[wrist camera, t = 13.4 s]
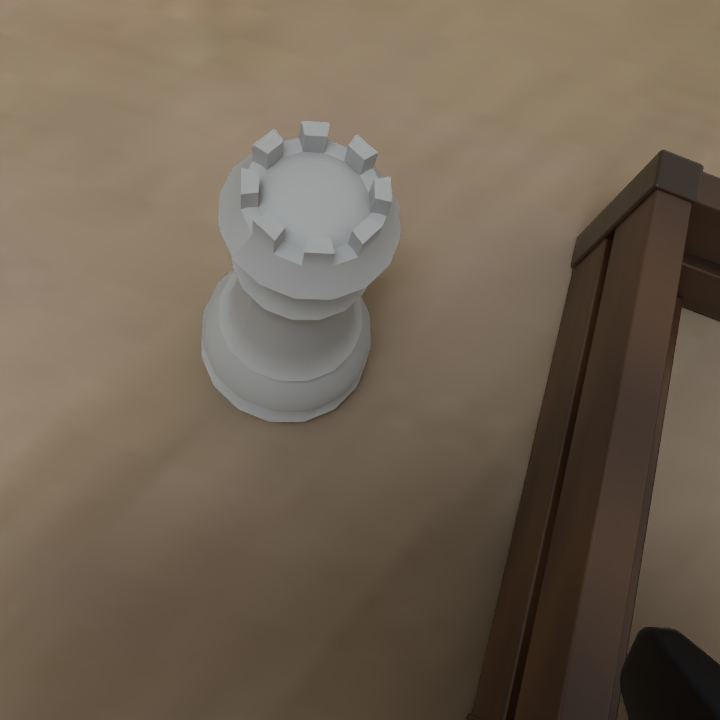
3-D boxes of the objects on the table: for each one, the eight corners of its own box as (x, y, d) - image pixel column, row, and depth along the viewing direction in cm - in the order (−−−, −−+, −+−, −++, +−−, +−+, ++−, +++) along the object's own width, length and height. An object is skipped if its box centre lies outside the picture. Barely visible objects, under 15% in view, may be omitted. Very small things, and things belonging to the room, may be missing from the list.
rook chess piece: (262, 461, 18) (281, 364, 10) (168, 324, 18) (122, 141, 11) (397, 370, 19) (500, 226, 12) (305, 246, 20) (347, 37, 12)
